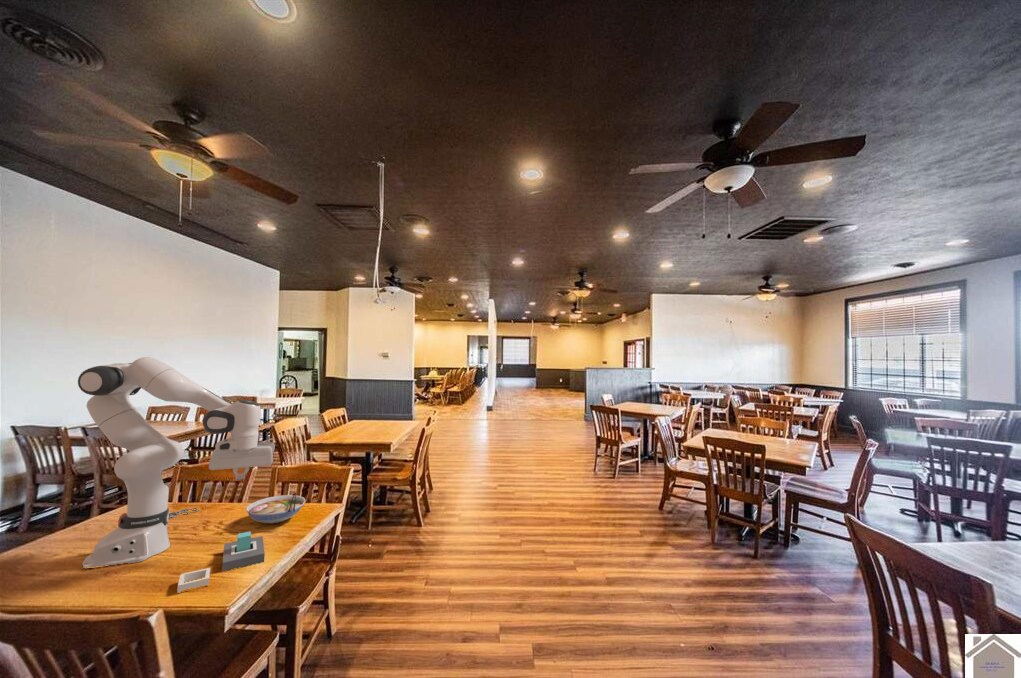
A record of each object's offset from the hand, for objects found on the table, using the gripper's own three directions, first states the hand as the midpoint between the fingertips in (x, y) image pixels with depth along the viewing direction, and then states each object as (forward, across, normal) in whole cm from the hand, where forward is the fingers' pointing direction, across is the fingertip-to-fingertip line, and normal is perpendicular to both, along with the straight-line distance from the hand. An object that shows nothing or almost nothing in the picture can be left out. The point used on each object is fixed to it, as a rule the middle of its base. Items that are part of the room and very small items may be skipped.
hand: (240, 479), depth 146 cm
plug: (+26, -3, +10) cm, 28 cm away
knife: (+28, +26, -44) cm, 58 cm away
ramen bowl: (+26, -15, -21) cm, 37 cm away
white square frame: (+26, +9, +22) cm, 35 cm away
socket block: (+26, -4, +9) cm, 28 cm away
